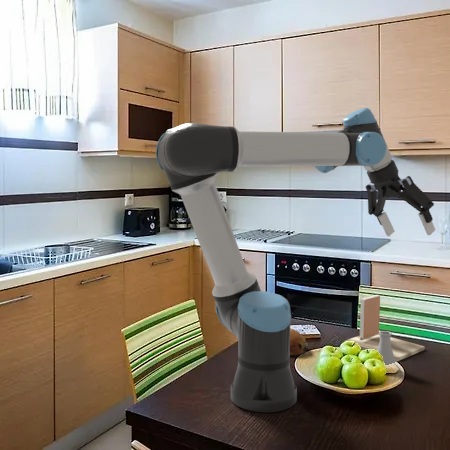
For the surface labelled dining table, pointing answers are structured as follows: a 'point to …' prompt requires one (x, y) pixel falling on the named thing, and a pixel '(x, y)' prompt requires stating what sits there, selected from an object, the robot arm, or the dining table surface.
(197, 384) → the dining table surface
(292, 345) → the brown rounded lump
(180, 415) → the dining table surface
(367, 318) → the tile
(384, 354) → the flask
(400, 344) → the board
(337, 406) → the dining table surface
